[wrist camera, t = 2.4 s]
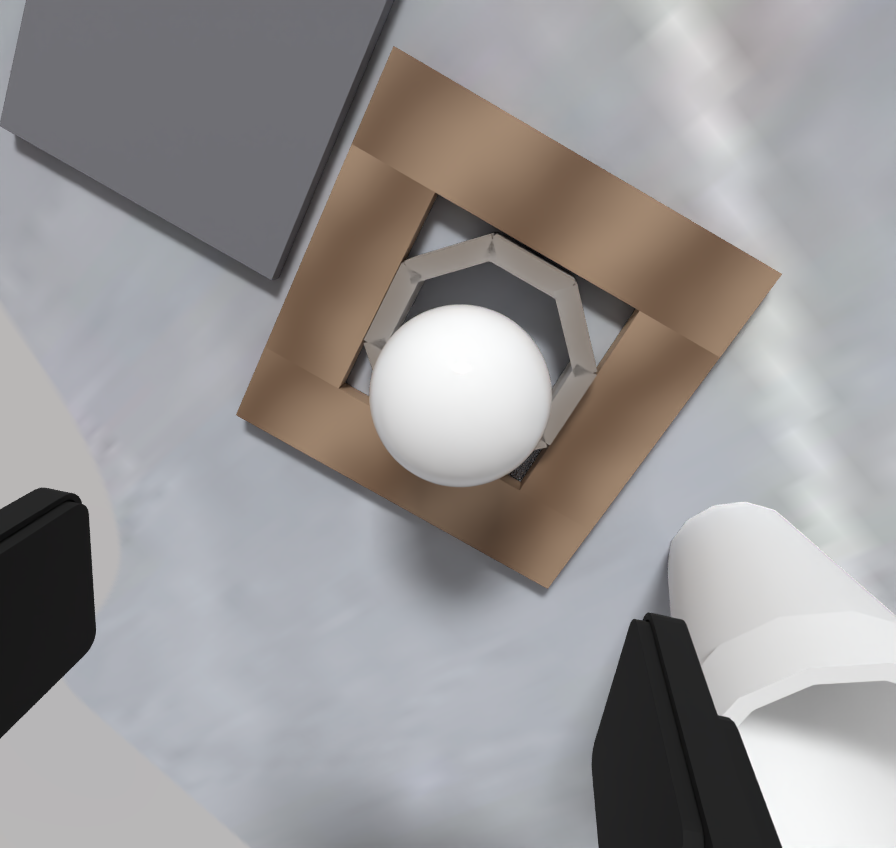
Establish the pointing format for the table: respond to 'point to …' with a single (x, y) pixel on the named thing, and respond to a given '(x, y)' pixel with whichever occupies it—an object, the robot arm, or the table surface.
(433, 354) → the lightbulb
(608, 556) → the table surface
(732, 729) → the robot arm
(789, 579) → the foam cup
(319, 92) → the rubber mat
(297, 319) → the socket plate
